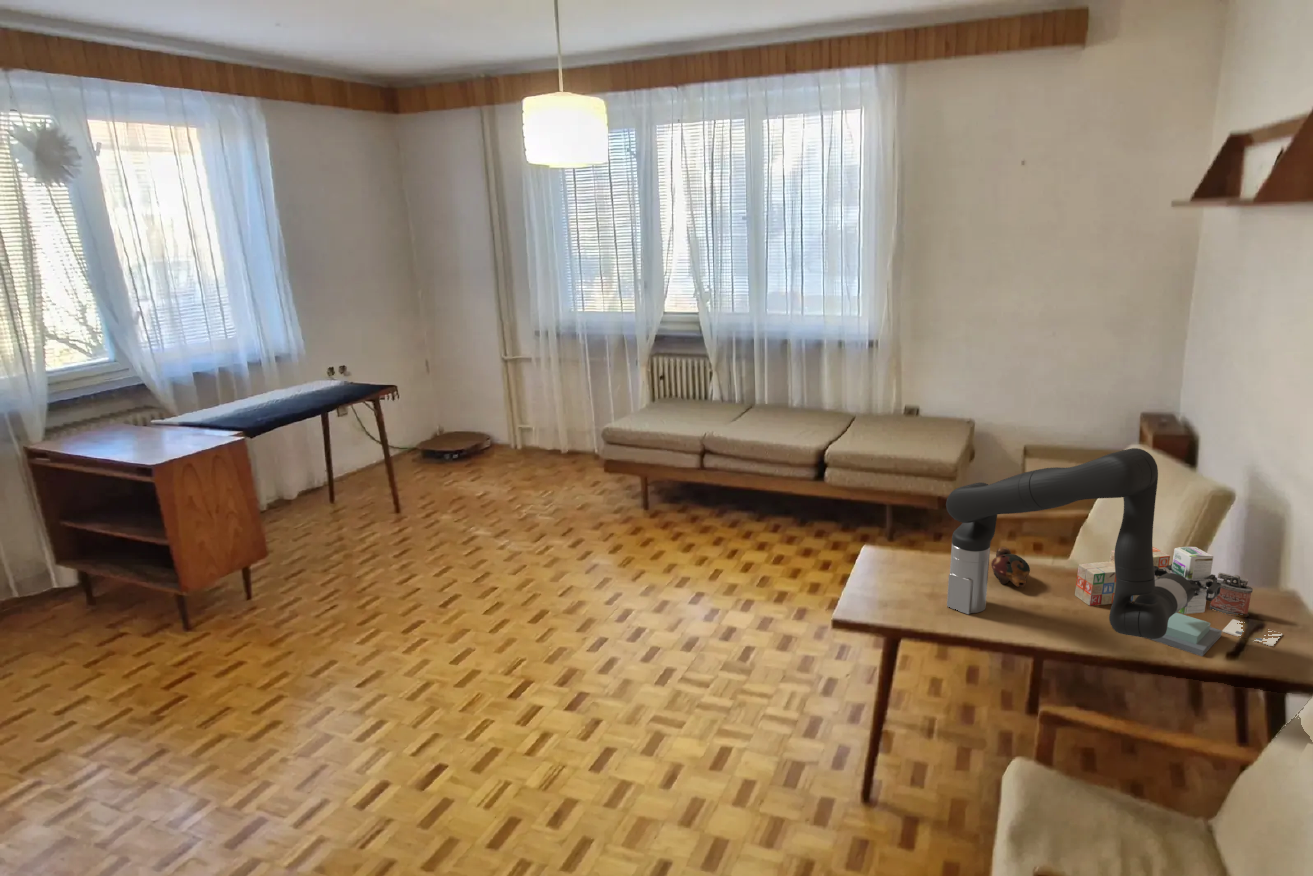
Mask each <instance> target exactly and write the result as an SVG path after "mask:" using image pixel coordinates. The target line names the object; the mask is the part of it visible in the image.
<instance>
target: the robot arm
mask: <svg viewBox="0 0 1313 876" xmlns="http://www.w3.org/2000/svg"><path fill="white" fill-rule="evenodd" d="M1158 478H1159V468H1158V465H1157V462H1156V460H1155V458H1154V457H1153V455H1152V454H1150V452H1148V451H1146V450H1144V449H1141V448H1135V447H1134V448H1126V449H1123V450H1118V451H1116V452H1115V451H1114V452H1112V453H1108V454H1105V455H1102V456H1101V457H1098V458H1095V459H1093V460H1090V461H1087V462H1085V463H1084V462H1083V463H1081V464H1078V465H1075V466H1070V467H1061V466H1060V467H1044V468H1038V469H1035V470H1029V471H1026V472H1022V473H1018V474H1016V475H1013V476H1009V477H1007V478H1004V479H1001V480H998V481H996V482H993V483H990V484H988V483H986V482H975V483H971V484H966V485H963V486H959V487H957V488H955V489H953V490H952V491H951V492H950V493H949V495H948V496H947V498H946V503H945V506H946V507H945V508H946V511H947V513H948V514H949V516H950V517H951V518H953V519H954V520H955V521H957V522H959V523H961V524H960V525H959V526H958V527H957V528H955V530H954V531H953V533H952V536H951V551H950V566H949V574H948V581H947V583H948V584H947V598H946V599H947V600H946V607H947V606H948V607H947V608H949V607H950V608H949V609H952V610H955V609H956V611H957V610H958V612H960V613H962V614H963V613H964V614H966V615H971V614H976V613H981V612H983V611H985V610H986V607H987V606H986V605H987V595H988V593H987V592H988V579H989V568H990V567H989V566H990V554H991V544H992V543H991V542H992V540H993V538H994V536H995V532H996V527H997V519H998V515H1009V514H1010V515H1011V514H1021V513H1030V512H1040V511H1045V510H1051V509H1057V508H1060V507H1063V506H1067V505H1070V504H1073V503H1075V502H1078V501H1084V500H1096V499H1116V498H1117V499H1119V498H1123V512H1122V513H1123V515H1122V520H1121V524H1120V528H1119V531H1118V535H1117V538H1116V542H1115V545H1114V550H1115V553H1114V561H1115V574H1116V588H1115V594H1114V599H1113V603H1112V604H1111V607H1110V612H1109V615H1108V616H1109V617H1108V618H1109V623H1110V625H1111V627H1112V629H1113V630H1114V632H1116V633H1118V634H1120V635H1123V636H1131V637H1137V638H1143V639H1149V640H1151V639H1158V638H1161V637H1163V636H1164V635H1165V634H1166V631H1167V627H1168V620H1169V618H1170V617H1171V616H1172V615H1173V614H1175V613H1179V611H1180V610H1181V609H1182V608H1183V607H1184V606H1185V605H1186V604H1187V603H1188V602H1189V601H1190V600H1191V599H1192V598H1193V596H1198V595H1202V596H1205V597H1206V601H1208V602H1211V601H1212V600H1213V599H1214V598H1216V597H1217V596H1218V595H1219V594H1220V589H1221V583H1219V582H1217V580H1218V576H1216V575H1215V574H1212V573H1211V575H1210V576H1209V577H1208V578H1207V579H1201V578H1184V577H1183V576H1181V575H1178V574H1174V573H1173V572H1172V571H1171V570H1172V563H1171V564H1169V565H1167V566H1166V567H1163V568H1162V569H1159V567H1158V566H1154V563H1153V547H1154V546H1153V539H1154V538H1153V535H1154V522H1155V521H1154V520H1155V509H1156V498H1157V489H1158V483H1159V482H1158V481H1159V480H1158ZM1157 576H1160V577H1158V578H1157ZM1196 582H1197V584H1196ZM1204 584H1206V587H1204ZM1133 595H1139V596H1138V597H1137V598H1136V600H1135V601H1131V596H1133Z"/></svg>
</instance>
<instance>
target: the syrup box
mask: <svg viewBox="0 0 1313 876" xmlns="http://www.w3.org/2000/svg"><path fill="white" fill-rule="evenodd" d="M1172 558H1173V559H1172V563H1171V564H1172V570H1171V571H1172V572H1173V573H1174V574H1178V575H1181V576H1183V577H1184V578H1201V579H1207V578H1208V577H1209V576H1210V575H1211V574H1212V566H1213V561H1214V555H1213V554H1210V553H1207V552H1206V551H1204V550H1202V549H1200V548H1198V547H1197V546H1181V547H1180V546H1179V547H1175V548H1174V550H1173V557H1172ZM1196 584H1197V582H1196ZM1204 587H1206V584H1204ZM1206 603H1207V600H1206V597H1205V596H1202V595H1198V596H1193V598H1192V599H1191V600H1190V601H1189V602H1188V603H1187V604H1186V605H1185V606H1184V607H1183V608H1182V609H1181V610H1180V611H1178V613H1180V614H1183V615H1188V614H1190V615H1191V614H1199V613H1205V610H1206Z"/></svg>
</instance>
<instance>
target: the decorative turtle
mask: <svg viewBox="0 0 1313 876" xmlns="http://www.w3.org/2000/svg"><path fill="white" fill-rule="evenodd" d="M991 569H992V571H993V575H994V576H995V577H996V578H997V577H998V578H997V580H998V582H999V583H1000V585H1006V584H1008V582H1011V583H1012V584H1013V585H1014V586H1016V587H1017V588H1024V587H1025V586H1026V584H1027V581H1026V580H1027V578H1028V576H1030V575H1029V574H1030V573H1031V568H1030V565H1029V563H1028V562H1027V561H1026V560H1025V559H1024V558H1022V557H1021V556H1020V555H1016V554H1015V553H1012V552H1011V550H1010V549H1009V548H1008V547H1005V546H999V548H997V549H996V553H995V557H994V558H993V559H992V560H991Z"/></svg>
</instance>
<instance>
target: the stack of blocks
mask: <svg viewBox="0 0 1313 876" xmlns="http://www.w3.org/2000/svg"><path fill="white" fill-rule="evenodd" d="M1152 547H1153V563H1154V566H1158V567H1159V569H1162V568H1163V567H1166V566H1167V565H1170V558H1171V555H1170V554H1168V553H1166V552H1164V551H1162V550H1160V549H1158V548H1157V547H1154V546H1152ZM1114 553H1115V549H1114V550H1110V556H1109V561H1102V562H1101V561H1098V562H1091V563H1090V562H1088V563H1081V564H1080V563H1079V564H1078V568H1077V575H1076V580H1075V581H1076V582H1075V591H1074V596H1075V597H1076V598H1078V599H1079V600H1081V601H1082V602H1084V603H1085V604H1086V605H1088V606H1091V607H1092V606H1099V605H1100V606H1102V605H1103V606H1104V605H1110V604H1111V605H1112V603H1113V599H1114V594H1115V588H1116V574H1115V561H1114ZM1158 577H1160V576H1157V578H1158ZM1138 596H1139V595H1133V596H1131V602H1135V600H1136V598H1137V597H1138Z"/></svg>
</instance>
